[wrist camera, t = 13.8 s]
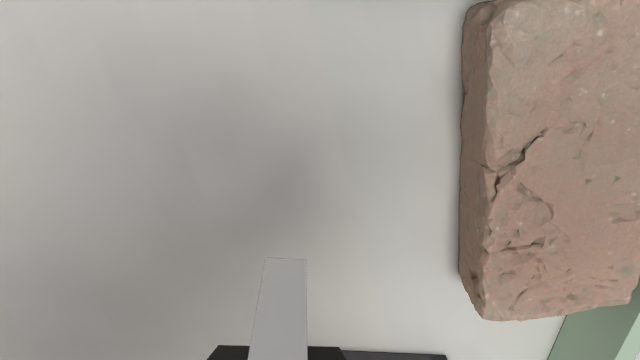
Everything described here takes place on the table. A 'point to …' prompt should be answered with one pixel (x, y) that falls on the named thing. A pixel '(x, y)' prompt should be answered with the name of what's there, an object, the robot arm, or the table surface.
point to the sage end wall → (601, 333)
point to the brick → (550, 156)
